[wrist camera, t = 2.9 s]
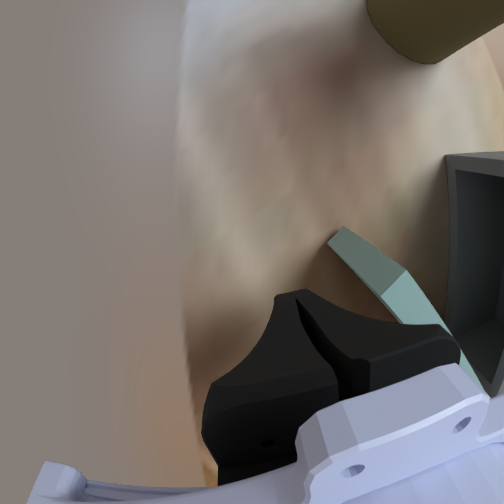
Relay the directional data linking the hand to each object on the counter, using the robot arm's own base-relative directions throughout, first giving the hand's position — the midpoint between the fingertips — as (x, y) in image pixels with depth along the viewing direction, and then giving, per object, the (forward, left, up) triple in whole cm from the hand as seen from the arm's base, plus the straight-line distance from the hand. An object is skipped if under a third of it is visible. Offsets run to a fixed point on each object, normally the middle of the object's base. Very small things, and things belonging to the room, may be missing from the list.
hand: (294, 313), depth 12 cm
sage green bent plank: (-3, -6, -4) cm, 8 cm away
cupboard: (-1, -14, -4) cm, 14 cm away
